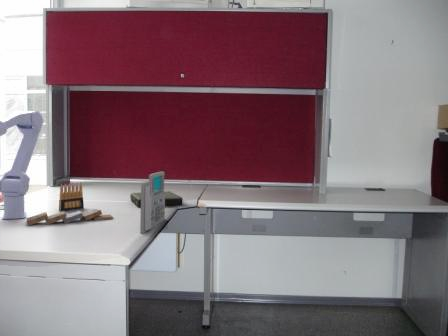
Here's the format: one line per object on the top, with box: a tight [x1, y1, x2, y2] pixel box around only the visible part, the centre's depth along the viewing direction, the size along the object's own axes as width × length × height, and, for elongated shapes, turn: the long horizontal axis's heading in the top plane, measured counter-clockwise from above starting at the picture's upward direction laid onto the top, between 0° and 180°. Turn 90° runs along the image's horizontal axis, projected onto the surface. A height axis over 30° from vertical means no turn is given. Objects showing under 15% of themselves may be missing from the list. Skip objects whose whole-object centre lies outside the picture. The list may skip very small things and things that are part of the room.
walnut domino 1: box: [26, 211, 49, 226], centre depth 148 cm, size 5×2×7 cm
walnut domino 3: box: [79, 208, 103, 221], centre depth 158 cm, size 5×2×7 cm
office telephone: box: [139, 171, 166, 234], centre depth 147 cm, size 23×3×20 cm, turn 170°
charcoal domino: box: [61, 210, 83, 224], centre depth 153 cm, size 5×2×7 cm
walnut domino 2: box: [44, 211, 67, 225], centre depth 150 cm, size 5×2×7 cm
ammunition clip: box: [58, 182, 84, 212], centre depth 175 cm, size 11×2×12 cm, turn 138°
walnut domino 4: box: [92, 214, 114, 222], centre depth 159 cm, size 5×2×7 cm
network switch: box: [130, 190, 184, 209], centre depth 195 cm, size 23×23×5 cm
